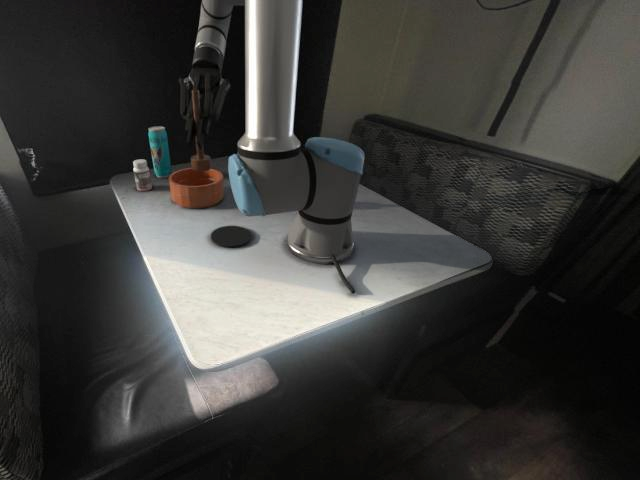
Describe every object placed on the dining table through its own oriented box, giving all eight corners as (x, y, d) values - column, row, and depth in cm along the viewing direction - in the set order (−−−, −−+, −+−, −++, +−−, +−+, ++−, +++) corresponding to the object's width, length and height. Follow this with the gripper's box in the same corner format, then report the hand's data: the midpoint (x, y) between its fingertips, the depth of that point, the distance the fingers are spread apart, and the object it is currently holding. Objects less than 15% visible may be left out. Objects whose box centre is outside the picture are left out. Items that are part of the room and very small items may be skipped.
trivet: (251, 248, 79) (251, 246, 78) (209, 247, 79) (209, 245, 78) (251, 227, 86) (251, 225, 86) (212, 227, 86) (212, 225, 86)
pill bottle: (136, 186, 108) (130, 159, 102) (150, 184, 109) (146, 157, 103) (138, 191, 104) (132, 164, 99) (153, 189, 106) (148, 162, 100)
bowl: (222, 209, 94) (221, 187, 90) (167, 209, 95) (164, 186, 91) (225, 188, 106) (224, 167, 102) (176, 188, 107) (173, 167, 102)
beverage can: (152, 177, 113) (144, 129, 104) (160, 172, 118) (152, 125, 108) (167, 179, 112) (160, 131, 102) (174, 173, 116) (168, 126, 107)
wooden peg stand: (210, 171, 88) (205, 92, 76) (190, 171, 88) (182, 92, 76) (211, 165, 92) (207, 88, 80) (193, 165, 92) (185, 88, 80)
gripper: (239, 69, 87) (226, 155, 85) (185, 67, 89) (171, 151, 87) (235, 44, 79) (220, 138, 78) (176, 44, 82) (160, 135, 80)
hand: (194, 145), depth 82 cm, fingers closed on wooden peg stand, 2 cm apart
